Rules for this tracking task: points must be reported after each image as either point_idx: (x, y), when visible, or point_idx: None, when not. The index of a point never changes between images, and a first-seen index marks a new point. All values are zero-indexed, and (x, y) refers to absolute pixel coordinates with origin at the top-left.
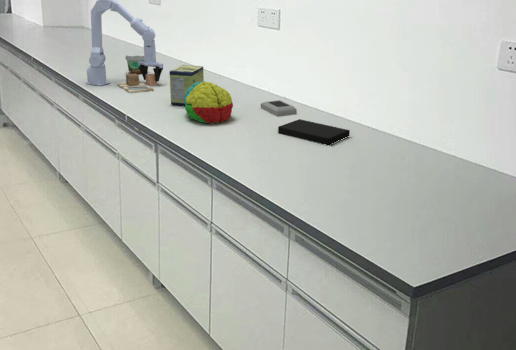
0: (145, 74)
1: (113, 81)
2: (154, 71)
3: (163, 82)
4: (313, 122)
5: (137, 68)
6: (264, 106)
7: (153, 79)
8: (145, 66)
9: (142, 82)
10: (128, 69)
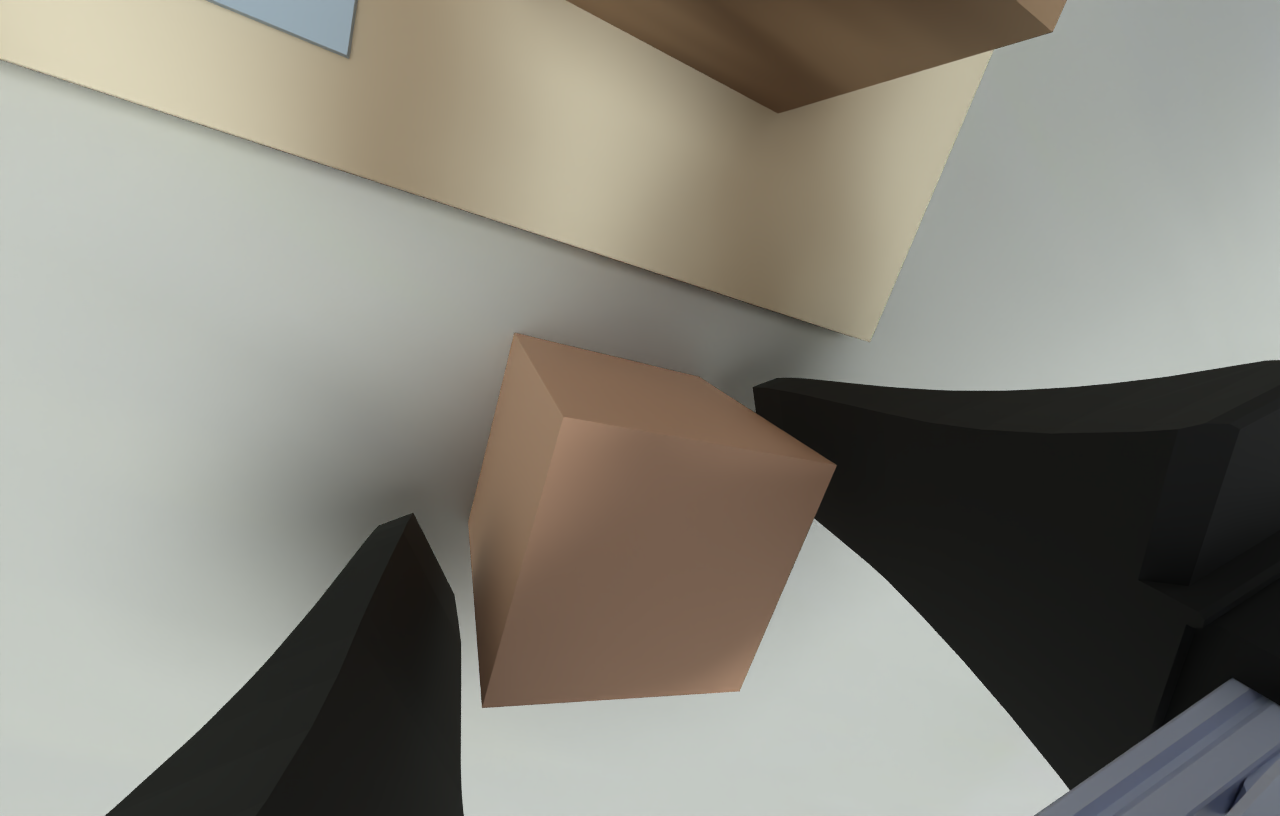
0: (826, 462)
1: (1229, 41)
2: (222, 808)
3: None
4: None
5: None
6: None
7: (498, 515)
8: (1134, 696)
9: (726, 295)
10: None
